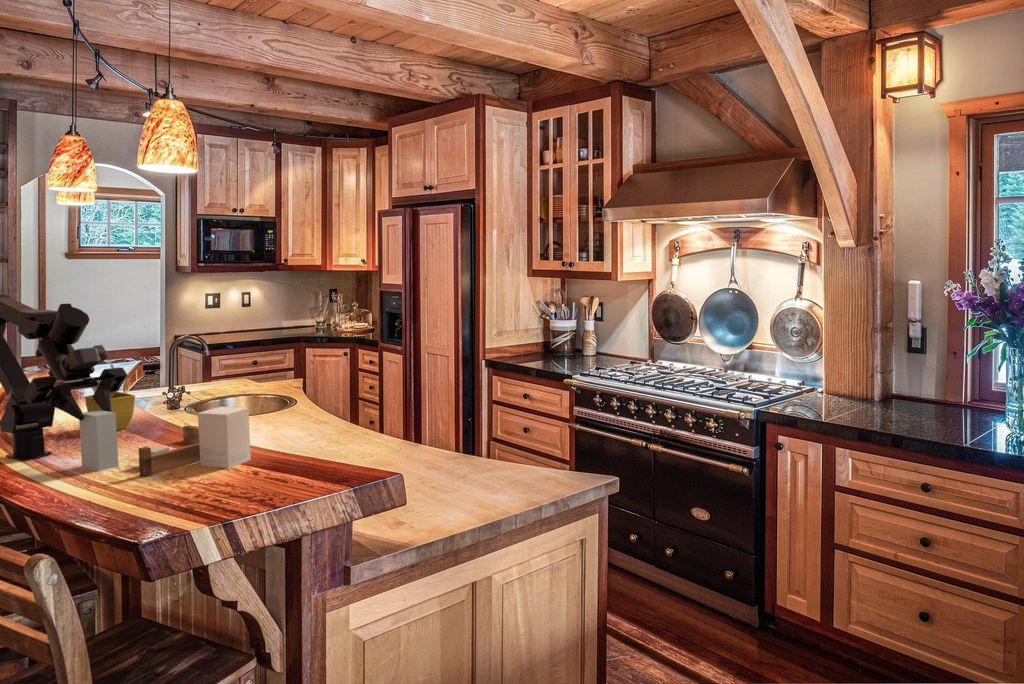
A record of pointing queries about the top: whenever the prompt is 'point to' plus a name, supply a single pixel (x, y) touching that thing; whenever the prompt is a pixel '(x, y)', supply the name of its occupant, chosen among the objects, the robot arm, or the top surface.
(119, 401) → the flower pot
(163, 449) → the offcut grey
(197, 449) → the frame
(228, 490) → the top surface
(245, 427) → the supplement box
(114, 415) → the block
